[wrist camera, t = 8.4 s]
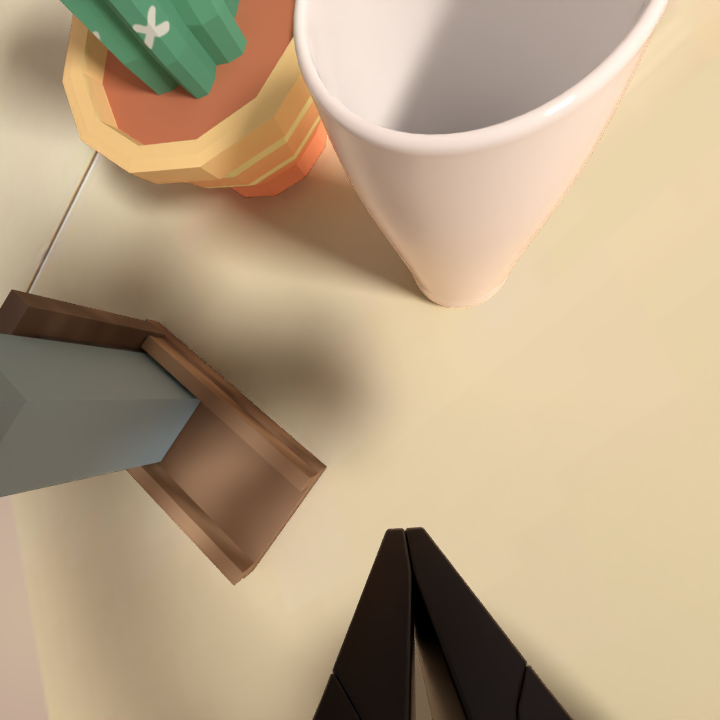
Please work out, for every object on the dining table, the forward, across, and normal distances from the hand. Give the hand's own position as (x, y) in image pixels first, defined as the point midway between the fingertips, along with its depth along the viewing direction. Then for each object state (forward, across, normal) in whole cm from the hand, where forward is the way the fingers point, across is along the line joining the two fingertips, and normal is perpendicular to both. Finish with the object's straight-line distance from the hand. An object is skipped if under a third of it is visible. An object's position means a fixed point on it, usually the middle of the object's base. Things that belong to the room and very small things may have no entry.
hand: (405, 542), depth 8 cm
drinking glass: (+15, -5, -5) cm, 16 cm away
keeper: (+15, +15, +3) cm, 21 cm away
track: (+15, +12, +5) cm, 20 cm away
